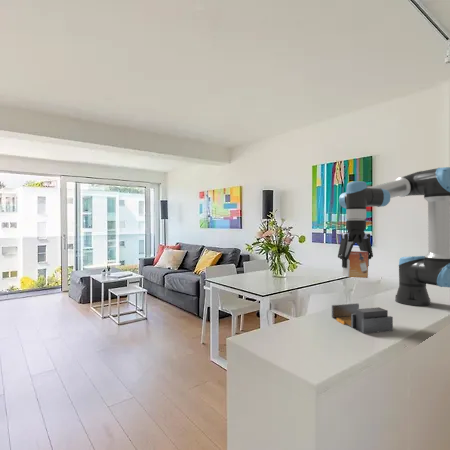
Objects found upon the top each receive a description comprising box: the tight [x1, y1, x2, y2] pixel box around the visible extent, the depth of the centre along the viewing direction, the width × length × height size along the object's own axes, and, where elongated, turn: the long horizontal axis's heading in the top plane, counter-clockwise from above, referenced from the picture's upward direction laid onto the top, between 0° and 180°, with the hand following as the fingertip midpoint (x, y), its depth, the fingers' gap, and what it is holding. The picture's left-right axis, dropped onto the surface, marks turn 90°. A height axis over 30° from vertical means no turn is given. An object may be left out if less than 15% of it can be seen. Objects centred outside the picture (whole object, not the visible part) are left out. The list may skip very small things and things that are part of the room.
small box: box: [345, 250, 369, 279], centre depth 129 cm, size 8×6×10 cm
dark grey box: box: [356, 307, 389, 331], centre depth 116 cm, size 10×4×7 cm, turn 103°
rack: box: [331, 303, 394, 334], centre depth 122 cm, size 13×20×6 cm, turn 13°
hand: (355, 275), depth 128 cm, fingers closed on small box, 9 cm apart
